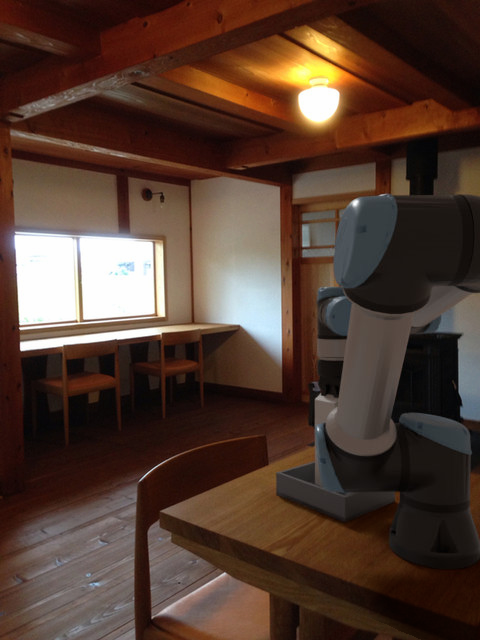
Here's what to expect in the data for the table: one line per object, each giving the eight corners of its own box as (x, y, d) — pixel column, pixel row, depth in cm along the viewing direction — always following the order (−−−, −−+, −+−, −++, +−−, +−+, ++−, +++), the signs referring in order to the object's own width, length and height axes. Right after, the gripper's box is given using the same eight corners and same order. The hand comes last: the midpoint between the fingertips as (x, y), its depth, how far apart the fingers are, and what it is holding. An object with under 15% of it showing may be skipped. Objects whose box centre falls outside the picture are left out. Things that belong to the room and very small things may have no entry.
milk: (334, 492, 117) (334, 388, 115) (314, 484, 121) (314, 384, 120) (354, 485, 120) (354, 385, 119) (333, 478, 125) (333, 381, 124)
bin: (394, 501, 119) (395, 478, 119) (344, 522, 108) (344, 497, 108) (326, 478, 134) (326, 457, 134) (276, 494, 123) (276, 472, 123)
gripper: (381, 360, 114) (381, 470, 116) (313, 353, 129) (314, 450, 130) (359, 363, 110) (358, 477, 111) (291, 355, 124) (291, 456, 126)
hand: (334, 462), depth 121 cm, fingers closed on milk, 6 cm apart
